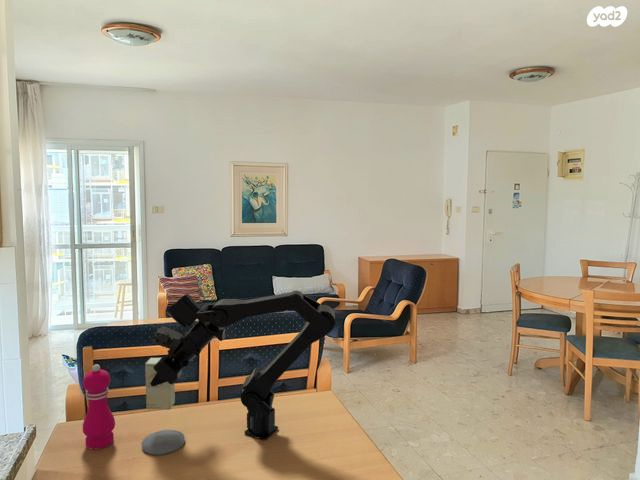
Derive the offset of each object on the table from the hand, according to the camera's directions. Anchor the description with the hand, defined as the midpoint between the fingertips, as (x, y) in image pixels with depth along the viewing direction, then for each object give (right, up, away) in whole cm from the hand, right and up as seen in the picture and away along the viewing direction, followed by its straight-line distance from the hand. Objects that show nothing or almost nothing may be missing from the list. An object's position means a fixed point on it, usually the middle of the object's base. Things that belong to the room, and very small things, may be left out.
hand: (154, 381), depth 122 cm
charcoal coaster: (+4, -14, -5) cm, 15 cm away
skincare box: (+1, -7, +1) cm, 7 cm away
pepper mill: (-12, -14, -4) cm, 19 cm away
